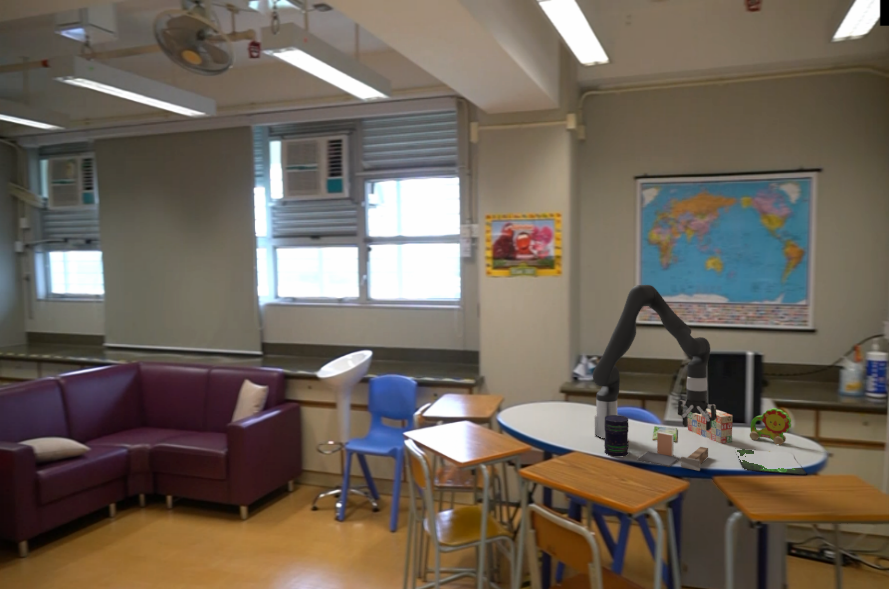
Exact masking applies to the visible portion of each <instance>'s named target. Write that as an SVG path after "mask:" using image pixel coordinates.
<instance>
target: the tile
mask: <svg viewBox="0 0 889 589" xmlns="http://www.w3.org/2000/svg"><path fill="white" fill-rule="evenodd" d="M673 439H674V434H669V433H664V432H658V433H657V444H656V445H657V448H656V449H657V450H656V451H657V452H656V453H659V454H664V455H668V456H673V457H674V442H673Z"/></svg>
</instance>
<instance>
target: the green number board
mask: <svg viewBox="0 0 889 589" xmlns="http://www.w3.org/2000/svg"><path fill="white" fill-rule="evenodd" d="M653 427H654V428H653V433H652V441H654V440H657V433H658V432H664V433H669V434H674V439H673V443H677V436H678V433H677V431H678V430H677V429H678V428H677V427H670V426H658V425H657V426H655V425H654V426H653Z"/></svg>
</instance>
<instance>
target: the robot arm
mask: <svg viewBox="0 0 889 589" xmlns="http://www.w3.org/2000/svg"><path fill="white" fill-rule="evenodd" d="M643 307H649V308H651V309H652V310H653V311H654V312H655V313H656V314H657V315H658V316H659V318H660V321H661V323H662V325H663V327H664V329H665V330H666V331H667V332H668V333H669V334H670V335H671V336H672V337H673V338H674V339H675V340H676V341H677V343H678V345H679V346H680V348H681V349H682V351H683V352H684V354H686V355H687V356H689V357H692V359H691V360H690V361H689V362H688V363H687V368H686V369H687V371H686V372H687V373H686V374H687V375H686V376H687V378H686V400H683V399H680V400H678V403H677V415H678V416H681V417H682V425H683V427H684V428H688V414H689V413H690V412H692V413H697V414H702V415H703V416H704V417H705V419H706V420H707V421H706V430H707V431H708V430H710V429H711V421H714V420H715V419H716V418H717V416H716V410H717V405H716V404H715V403H713V404H709V403H708V381H707V366H708V362H709V359H710V355H711V344H710V342H709V340H708V339H707V338H706V337H701V336H700V337H693V336H692V329H691V328H690V326H689V325H688V324H687V323H686V322H684V320H683V319H681V317H679V316H678V314H677V313H676V312H675V311H673V309H672V308H671V307H670V306H669V304H668V303H667V302H666V300H665V299H664V298H663V297H662V295H661V294H660V292H659V291H658V290H657V288H655V287H654V286H653V285H652V284H637V285H634V286H633V287H632V288H631V289H630V290H629V292H628V294H627V298H626V301H625V303H624V308H623V309H622V312H621V314H620V317H619V318H618V321H617V324H616V326H615V328H614V330H613V332H612V334H611V337H610V339H609V341H608V343H607V346H606V347H605V349H604V352H603V354H602V355H601V358H600V359H599V361H598V363H597V364H596V366H595V367H594V369H593V371H592V380H593V383H594V384H595V385H596V386H599V387H601V388H600V390H598V391H597V392H596V398H595V399H596V415H594V436H595V435H597V436H599V437H602V438H605V429H604V428H605V426H604V423H605V417H606V416H609V415H618V396H619V393H620V381H621V380H620V378H621V375H620V370H619V369H618V367H617V366H616V364H617V363H618V362H619V360H620V359H621V358H622V357H624V355H625V354H626V353H627V352H628V350H630V348H631V346H632V344H633V343H634V340H635V337H636V336H637V318H638V316H639V314H640V312H641V310H642V309H643ZM685 405H686V407H687V409H686V410H685V411H684V407H685ZM706 409H710V410H711V416H710V415H709V413H708V411H707V410H706ZM597 436H596V437H597ZM599 437H598V438H599ZM602 438H601V439H602Z"/></svg>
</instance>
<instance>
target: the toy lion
mask: <svg viewBox="0 0 889 589" xmlns="http://www.w3.org/2000/svg"><path fill="white" fill-rule="evenodd" d="M758 421H761V422H762V423H763V424H764V427H763V428H761V429H758V428H756V427H757V426H756V424H757V422H758ZM790 428H792V419H791V417H790V416H789V414H788V413H787V412H784V410H782V409H778V408H776V407H773V408H771V409H767V410H766V411H765V412H763V413H762V415H757V416H755V417H754V418H753V419H752V420H751V422H750V433H749V438H750V440H753V441H757V440H758V439H760V438H767V439H769V440H772V441H773V443H774V444H775V445H776V444H779V445H778V446H781V445H783V444H784V443H786V440H787V437H786V436H785V435H784V434H785V433H787V432H788V431H789V430H790Z"/></svg>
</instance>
